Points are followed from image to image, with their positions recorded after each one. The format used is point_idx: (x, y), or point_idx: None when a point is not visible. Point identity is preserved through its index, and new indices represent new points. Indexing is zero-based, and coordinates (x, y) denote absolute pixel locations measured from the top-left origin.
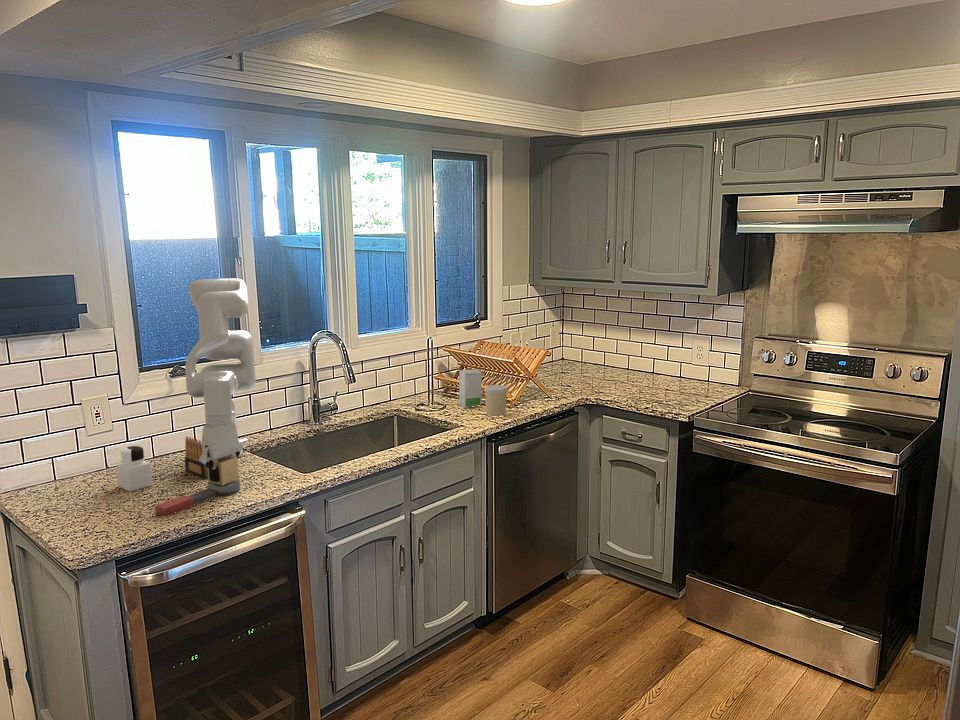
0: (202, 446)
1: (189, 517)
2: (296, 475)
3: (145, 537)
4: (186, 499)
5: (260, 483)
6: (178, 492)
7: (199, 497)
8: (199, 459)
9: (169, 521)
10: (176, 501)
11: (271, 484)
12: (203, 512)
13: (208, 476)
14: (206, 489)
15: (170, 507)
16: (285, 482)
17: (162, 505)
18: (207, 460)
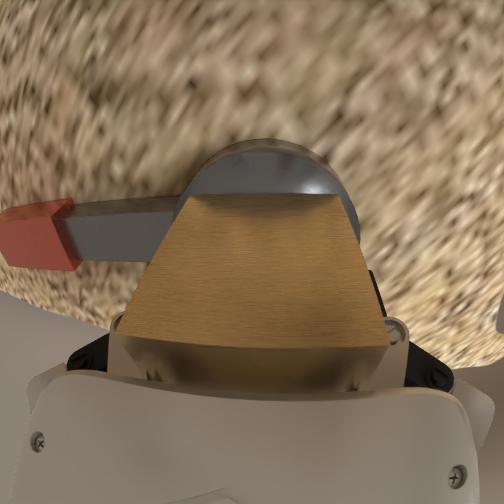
0: (22, 481)
1: (68, 298)
2: (481, 313)
3: (4, 291)
4: (55, 263)
5: (405, 283)
6: (103, 52)
7: (105, 258)
8: (30, 393)
9: (31, 276)
10: (29, 251)
11: (403, 316)
12: (103, 306)
13: (178, 219)
14: (159, 218)
15: (19, 265)
16: (426, 331)
17: (1, 241)
18: (122, 329)
